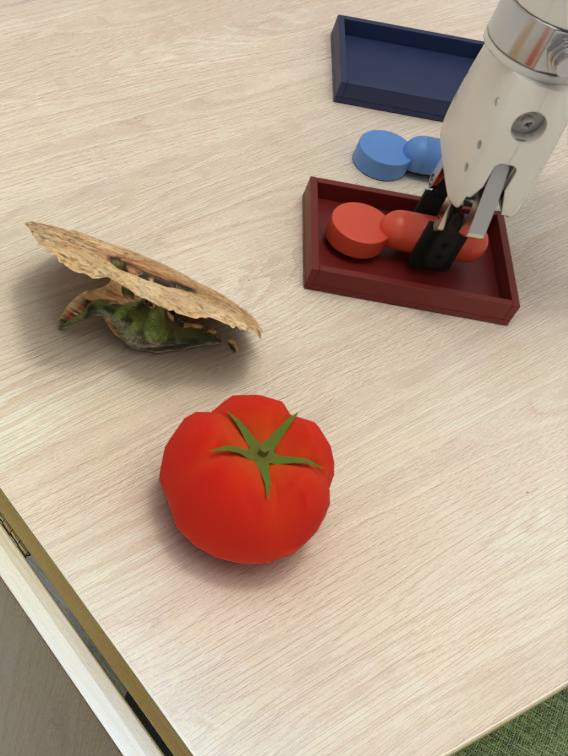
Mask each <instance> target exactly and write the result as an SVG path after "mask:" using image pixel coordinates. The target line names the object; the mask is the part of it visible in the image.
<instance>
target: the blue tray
mask: <svg viewBox="0 0 568 756" xmlns="http://www.w3.org/2000/svg"><path fill="white" fill-rule="evenodd" d="M484 44H485V43H484V40H479V39H474V38H468V37H462V36H457V35H453V34H447V33H441V32H436V31H430V30H426V29H419V28H414V27H410V26H409V27H408V26H404V25H398V24H394V23H386V22H383V21H377V20H372V19H366V18H361V17H356V16H351V15H345V14H339V13H338V14H337V16H336V19H335V22H334V25H333V27H332V29H331V32H330V45H331V48H330V49H331V71H332V95H333V102H334V103H335V102H336V103H339V104H340V103H341V104H347V105H352V106H357V107H362V108H368V109H374V110H378V111H383V112H384V111H385V112H389V113H394V114H402V115H404V116H411V117H416V118H422V119H427V120H433V121H437V122H443V120H444V118H445V116H446V113H447V111H448V109H449V107H450V105H451V103H452V101H453V99H454V97H455V95H456V93H457V91H458V89H459V87H460V85H461V83H462V82H463V80H464V78H465V76H466V74H467V73H468V71H469V69H470V67H471V66H472V64H473V62H474V61H475V59H476V57H477V55H478V54H479V52H480V50H481V49H482V47H483V45H484Z"/></svg>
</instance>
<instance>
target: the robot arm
mask: <svg viewBox="0 0 568 756" xmlns="http://www.w3.org/2000/svg"><path fill="white" fill-rule="evenodd" d="M482 35H483V36H482V38H483V41H484V43H485V44H484V45H483V47H482V49H481V50H480V52H479V54H478V55H477V57H476V59H475V61H474V62H473V64H472V66H471V67H470V69H469V71H468V73H467V74H466V76H465V78H464V80H463V82H462V83H461V85H460V87H459V89H458V91H457V93H456V95H455V97H454V99H453V101H452V103H451V105H450V107H449V109H448V111H447V113H446V116H445V118H444V120H443V121H442V122H441V126H440V133H439V138H440V145H441V156H442V157H441V159H440V160H439V162H438V164H437V166H436V167H435V169H434V171H433V172H432V174H431V176H429V179H428V183H427V188H428V189H426V188H425V189H424V190H423V193H422V194H421V195H420V196H421V198H420V200H419V202H418V204H417V206H416V207H415V209H414V211H413V212H416V213H421V214H427V215H432V216H437V217H436V219H435V221H429V222H428V223H427V225H426V227H425V229H424V231H423V232H422V234H421V236H420V238H419V240H418V241H417V243H416V245H415V247H414V249H413V250H412V252H411V254H410V256H409V258H408V263H409V266H411V267H417V268H422V269H427V270H433V271H438V272H446V271H448V270H449V268H450V267H451V265H452V263H453V262H454V260H455V258H456V257H457V255H458V253H459V252H460V250H461V249H462V247H463V245H464V244H465V242H466V240H467V239H468V237H469V238H475V239H480V240H482V239H483V238H484V236H485V234H486V232H487V229H488V227H489V224H490V221H491V219H492V216H493V214H494V211H495V210H496V208H497V205H498V204H499V205H498V207H499V211H500V212H501V215H504V217H505V218H512V217H513V216H514V215H516V214H517V213H518V211H519V210H520V209H521V207H522V206H523V204H524V202H525V201H526V199H527V198H528V196H529V194H530V193H531V190H532V189H533V187H534V186H535V184H536V182H537V181H538V178H539V177H540V175H541V174H542V172H543V170H544V168H545V167H546V165H547V163H548V161H549V160H550V158H551V156H552V154H553V153H554V151H555V148H556V146H557V145H558V143H559V141H560V139H561V137H562V136H563V133H564V131H565V129H566V127H567V125H568V0H499V1H498V3H497V5H496V7H495V9H494V11H493V13H492V15H491V17H490V19H489V20H488V21H487V24H486V26H485V28H484V31H483V34H482ZM463 206H467V207H471V210H470V212H469V214H462V213H459V212H460V211H461V209H462V207H463Z"/></svg>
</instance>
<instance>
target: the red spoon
mask: <svg viewBox="0 0 568 756" xmlns="http://www.w3.org/2000/svg"><path fill="white" fill-rule="evenodd" d="M436 217H437V216H432V215H427V214H421V213H416V212H411V211H405V210H395V211H392V212H390V213H388V214H387V215H384V214H383V213H382V212H380V211H379V210H377V209H376V208H374V207H372V206H369V205H367V204H363V203H357V202H349V203H344V204H341V205H339V206H338V207H337V208H335V209H334V211H333V213H332V215H331V217H330V219H329V222H328V224H327V226H326V229H325V234H326V238H327V240H328V242H329V243H330V244H331V245H332V246H333V247H334V248H335V249H336V250H337V251H339V252H341V253H342V254H344V255H347V256H350V257H353V258H359V259H367V258H372V257H375V256H377V255H378V254H380V253H381V252H382V250H383V248H384V246H385V247H387V248H389V249H392V250H397V251H403V252H408V253H411V252H412V250H413V249H414V247H415V245H416V243H417V241H418V240H419V238H420V236H421V234H422V232H423V231H424V229H425V227H426V225H427V223H428V222H429V221H435V219H436ZM487 247H488V235H487V233H486V234H485V236H484V238H483V239H482V240H480V239H475V238H469V237H468V239H467V240H466V242H465V244H464V245H463V247H462V249H461V250H460V252H459V253H458V255H457V257H456V258H455V260H454V261H456V262H463V263H468V262H472V261H475V260H477V259H479V258H480V257H481V256H482V255H483V254H484V253H485V251H486V249H487Z"/></svg>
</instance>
